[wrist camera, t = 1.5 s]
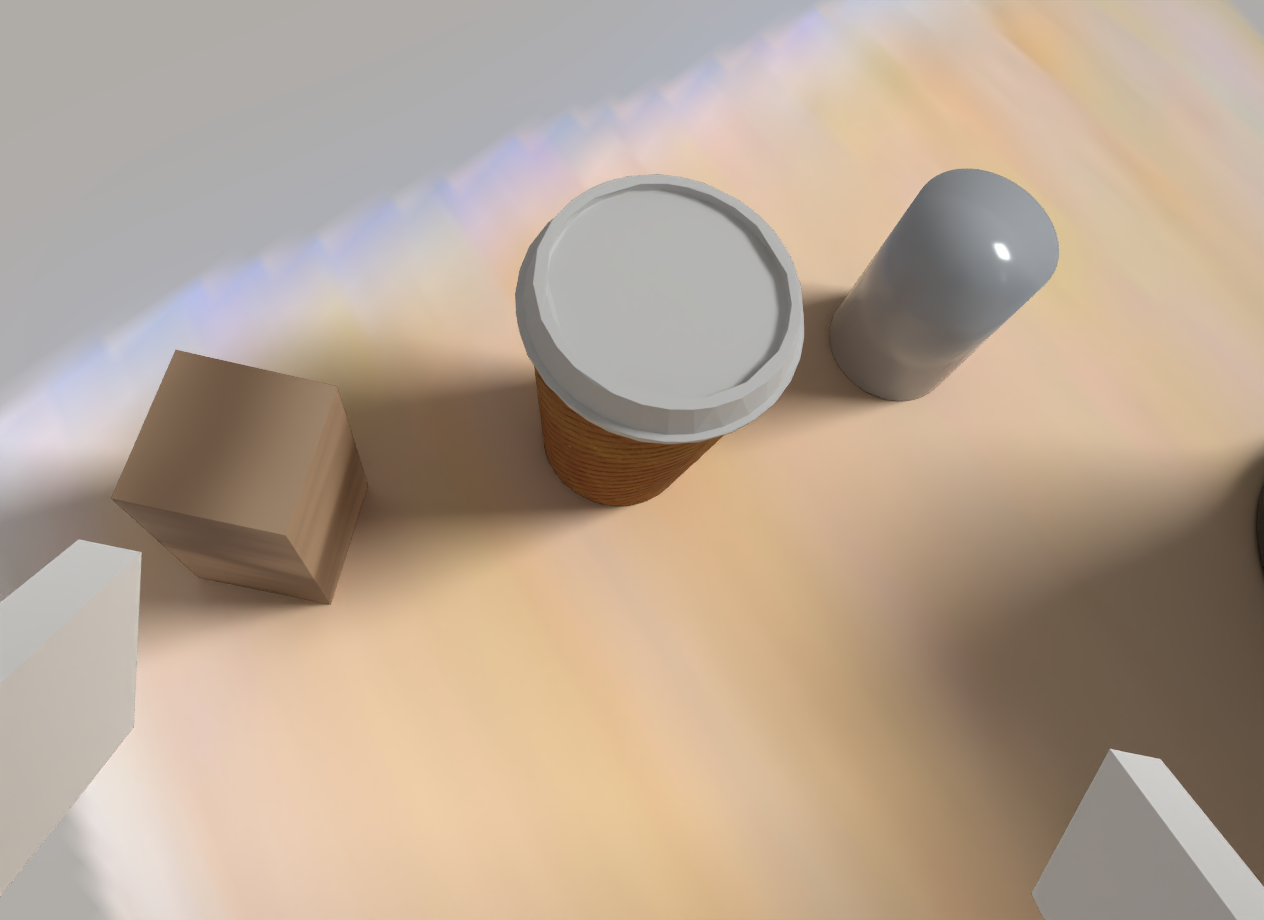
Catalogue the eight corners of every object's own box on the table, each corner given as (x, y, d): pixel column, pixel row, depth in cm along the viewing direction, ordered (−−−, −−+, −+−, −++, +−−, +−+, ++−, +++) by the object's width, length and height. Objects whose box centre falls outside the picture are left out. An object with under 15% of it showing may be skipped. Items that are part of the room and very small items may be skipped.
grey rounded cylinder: (949, 307, 45) (1057, 189, 36) (946, 413, 42) (1060, 314, 34) (834, 278, 44) (917, 153, 36) (824, 384, 42) (909, 276, 34)
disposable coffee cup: (457, 435, 38) (451, 275, 27) (609, 303, 42) (658, 116, 31) (622, 590, 37) (686, 489, 26) (765, 440, 40) (874, 295, 29)
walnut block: (367, 485, 36) (337, 386, 28) (330, 604, 34) (285, 535, 26) (243, 458, 36) (175, 349, 28) (198, 577, 34) (111, 498, 26)
